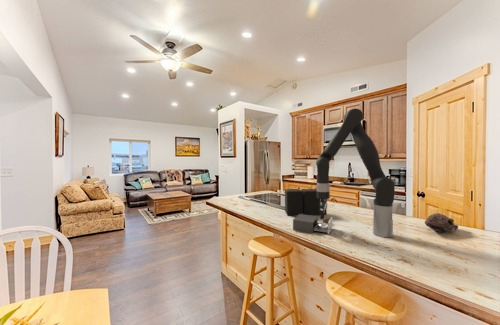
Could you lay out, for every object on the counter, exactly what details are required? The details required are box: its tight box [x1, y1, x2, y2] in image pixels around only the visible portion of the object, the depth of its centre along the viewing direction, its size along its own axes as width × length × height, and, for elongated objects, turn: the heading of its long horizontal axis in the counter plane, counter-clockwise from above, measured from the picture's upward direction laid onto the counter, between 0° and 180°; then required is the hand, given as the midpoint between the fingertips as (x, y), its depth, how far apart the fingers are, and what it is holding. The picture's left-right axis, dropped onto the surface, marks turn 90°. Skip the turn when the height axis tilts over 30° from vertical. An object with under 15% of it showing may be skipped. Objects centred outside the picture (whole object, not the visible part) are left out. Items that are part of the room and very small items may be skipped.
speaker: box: [284, 188, 320, 216], centre depth 169 cm, size 25×11×19 cm, turn 90°
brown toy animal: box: [424, 212, 459, 233], centre depth 127 cm, size 25×12×10 cm, turn 121°
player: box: [292, 213, 319, 234], centre depth 136 cm, size 12×14×6 cm
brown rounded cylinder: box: [322, 216, 330, 224], centre depth 144 cm, size 4×4×4 cm
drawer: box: [314, 216, 333, 235], centre depth 131 cm, size 9×13×6 cm
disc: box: [318, 221, 328, 230], centre depth 131 cm, size 6×6×2 cm
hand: (323, 216), depth 131 cm, fingers open, 8 cm apart
